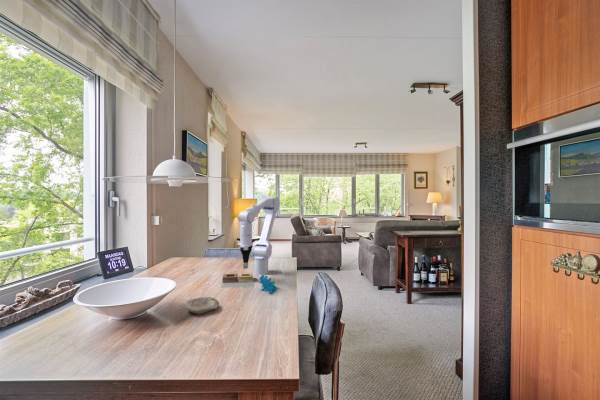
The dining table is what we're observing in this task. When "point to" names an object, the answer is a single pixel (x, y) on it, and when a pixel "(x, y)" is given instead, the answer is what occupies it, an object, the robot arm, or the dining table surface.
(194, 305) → the fossil
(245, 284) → the board
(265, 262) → the robot arm
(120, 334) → the dining table surface
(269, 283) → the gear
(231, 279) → the block walnut
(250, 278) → the block birch
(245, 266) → the pin
